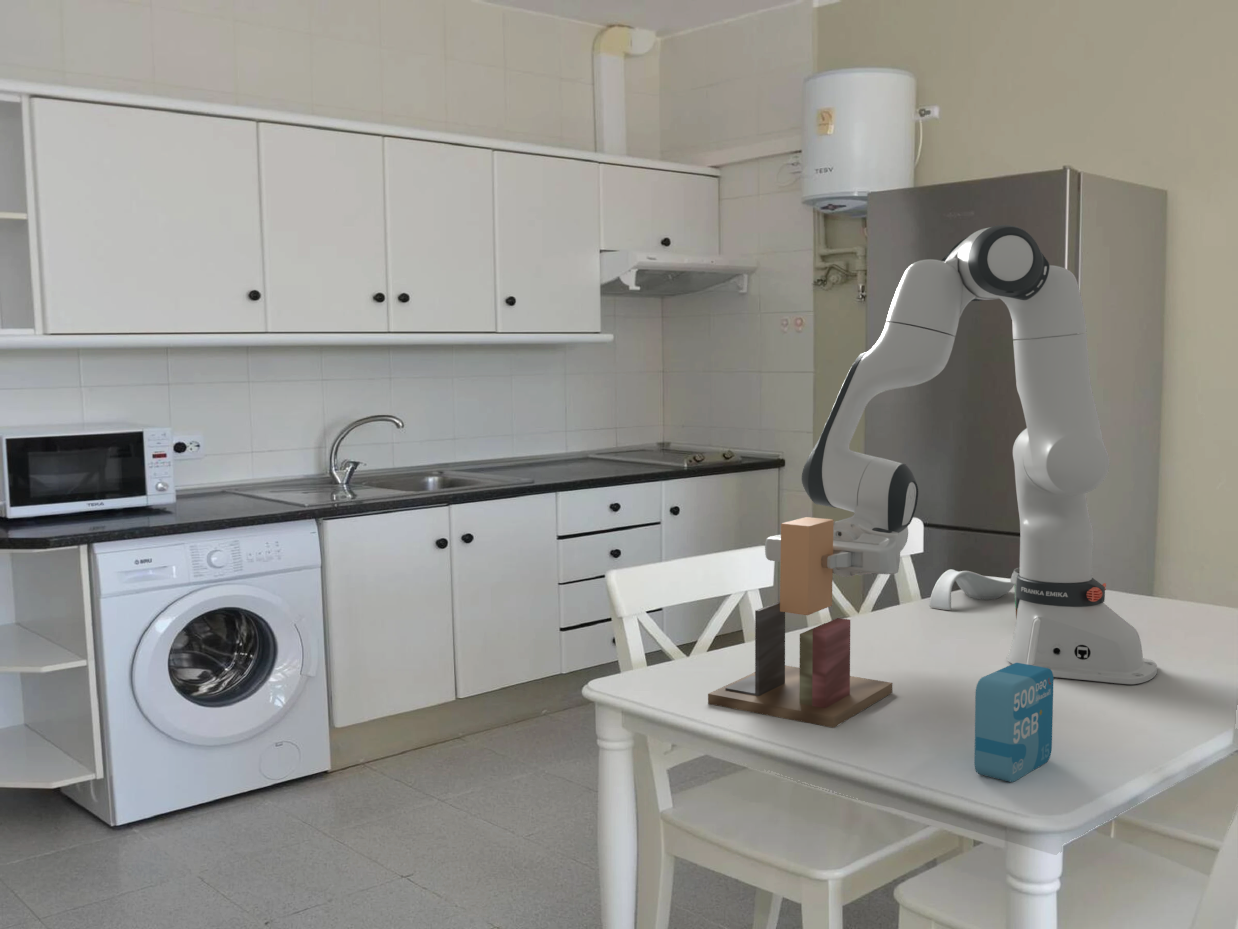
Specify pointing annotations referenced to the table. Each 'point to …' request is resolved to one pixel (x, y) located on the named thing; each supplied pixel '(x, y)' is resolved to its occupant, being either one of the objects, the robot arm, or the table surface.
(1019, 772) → the data package
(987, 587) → the spoon rest
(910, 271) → the robot arm
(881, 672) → the table surface
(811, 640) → the wooden bookend stand
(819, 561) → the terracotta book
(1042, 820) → the table surface
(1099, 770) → the table surface
